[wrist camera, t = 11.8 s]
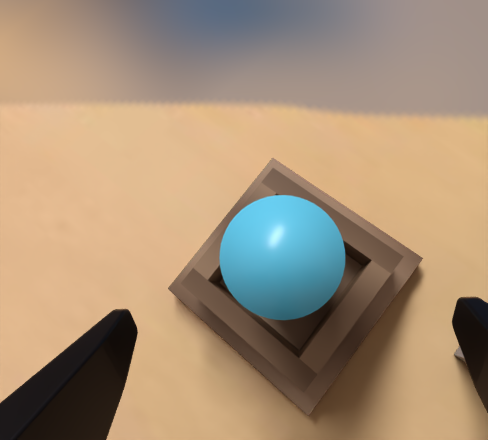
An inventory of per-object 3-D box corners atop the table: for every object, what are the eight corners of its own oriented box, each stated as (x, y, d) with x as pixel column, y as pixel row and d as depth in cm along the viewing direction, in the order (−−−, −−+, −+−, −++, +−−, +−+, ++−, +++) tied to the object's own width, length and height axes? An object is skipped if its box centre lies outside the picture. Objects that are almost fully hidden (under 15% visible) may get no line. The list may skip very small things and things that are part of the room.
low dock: (307, 409, 17) (309, 436, 14) (174, 289, 20) (148, 287, 17) (416, 260, 18) (443, 251, 15) (273, 164, 21) (269, 138, 17)
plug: (333, 304, 17) (360, 307, 10) (260, 317, 18) (230, 330, 10) (316, 231, 18) (327, 183, 11) (247, 246, 19) (211, 209, 11)
